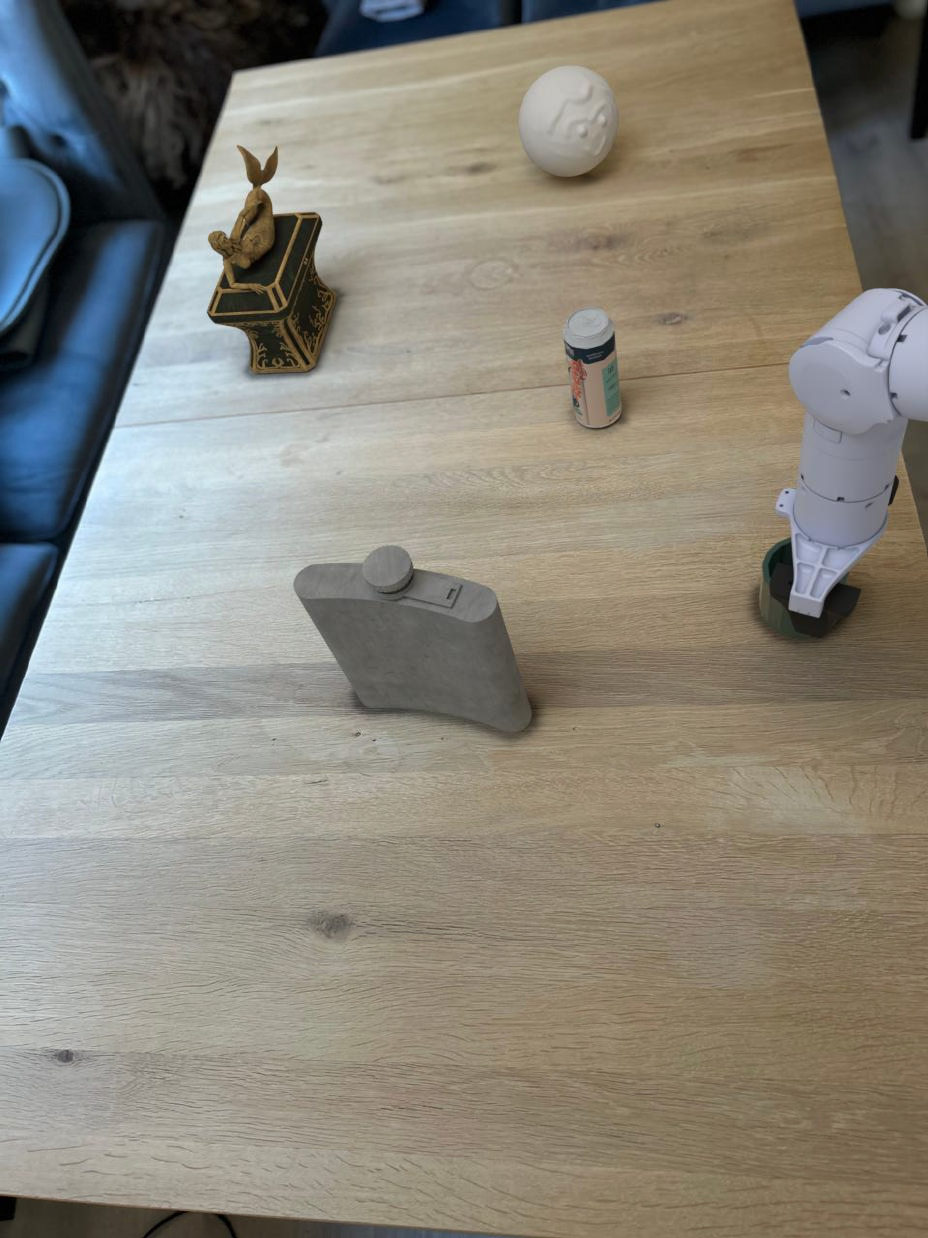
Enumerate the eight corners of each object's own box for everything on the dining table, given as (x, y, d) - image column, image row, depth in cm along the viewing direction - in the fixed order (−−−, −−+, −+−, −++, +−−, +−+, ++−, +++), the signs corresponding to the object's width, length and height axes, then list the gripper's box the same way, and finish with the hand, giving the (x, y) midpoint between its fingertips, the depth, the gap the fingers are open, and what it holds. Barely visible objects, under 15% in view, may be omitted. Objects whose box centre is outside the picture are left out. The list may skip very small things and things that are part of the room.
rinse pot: (850, 585, 85) (858, 547, 80) (827, 648, 82) (835, 612, 77) (772, 565, 87) (776, 527, 83) (748, 625, 84) (751, 589, 80)
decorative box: (318, 382, 112) (253, 233, 96) (240, 385, 114) (164, 240, 98) (355, 265, 122) (302, 112, 106) (283, 270, 125) (220, 121, 108)
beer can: (577, 397, 103) (563, 305, 93) (623, 395, 102) (615, 302, 92) (573, 432, 100) (559, 341, 90) (621, 430, 99) (612, 338, 89)
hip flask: (354, 705, 88) (274, 576, 72) (369, 666, 90) (295, 531, 73) (526, 736, 83) (483, 605, 67) (538, 693, 85) (499, 556, 68)
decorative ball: (559, 210, 120) (547, 116, 110) (508, 168, 127) (492, 76, 117) (641, 165, 122) (636, 69, 112) (586, 126, 128) (576, 32, 118)
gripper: (816, 375, 67) (800, 503, 78) (745, 539, 61) (739, 653, 72) (927, 395, 64) (894, 525, 75) (865, 570, 58) (839, 683, 69)
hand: (825, 589), depth 73 cm, fingers open, 7 cm apart
